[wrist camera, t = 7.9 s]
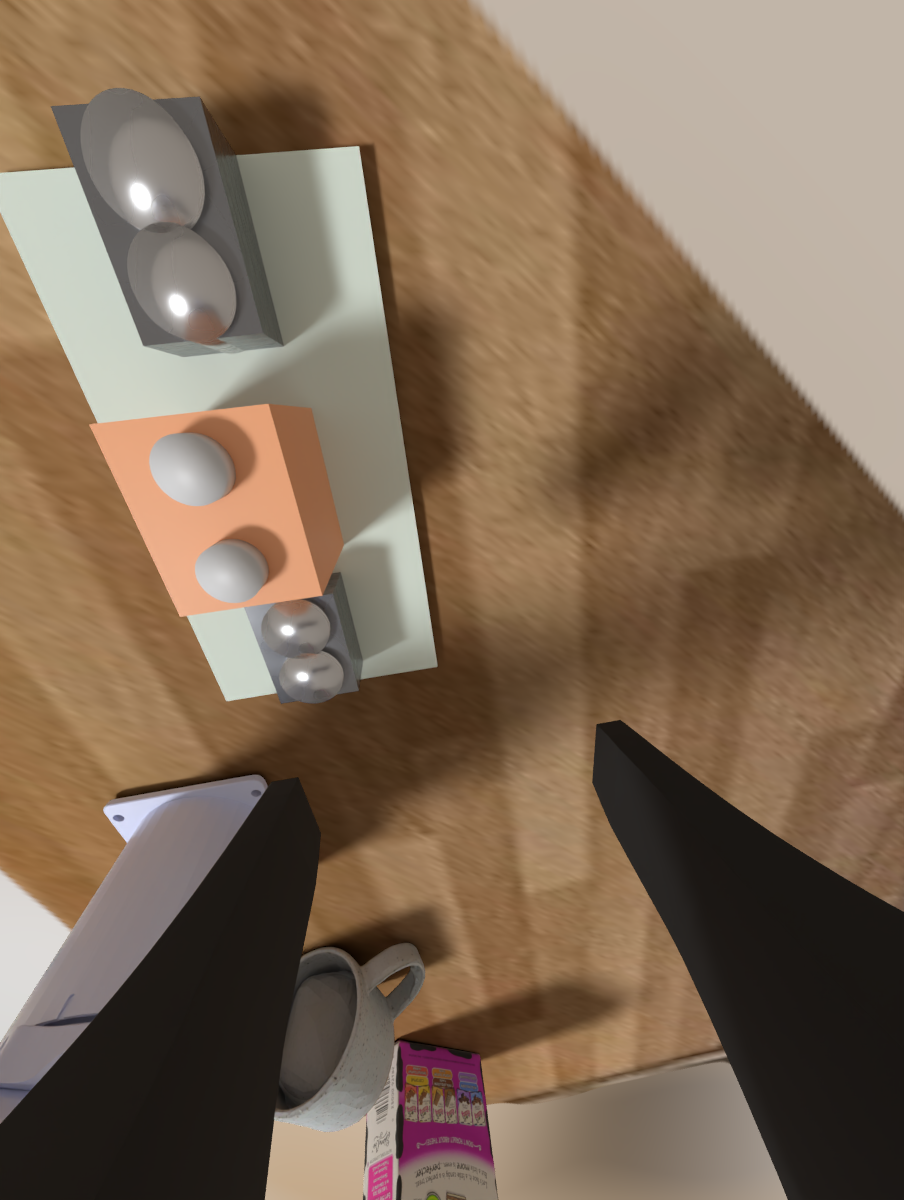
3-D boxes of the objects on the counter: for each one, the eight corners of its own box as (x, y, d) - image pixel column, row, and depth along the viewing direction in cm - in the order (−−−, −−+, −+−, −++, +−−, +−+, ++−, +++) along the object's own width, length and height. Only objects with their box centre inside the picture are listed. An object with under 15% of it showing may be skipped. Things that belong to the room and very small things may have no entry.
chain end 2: (363, 661, 18) (358, 696, 16) (294, 672, 18) (279, 709, 16) (340, 570, 16) (331, 595, 14) (262, 582, 16) (240, 609, 14)
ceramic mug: (318, 1006, 32) (298, 1166, 25) (266, 964, 29) (227, 1136, 22) (437, 964, 32) (450, 1113, 25) (401, 916, 29) (404, 1074, 22)
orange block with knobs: (344, 544, 16) (318, 604, 11) (243, 558, 16) (168, 627, 10) (311, 408, 14) (260, 403, 9) (193, 421, 13) (69, 425, 8)
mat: (436, 662, 19) (437, 666, 19) (229, 695, 19) (226, 701, 18) (360, 154, 11) (359, 146, 11) (-4, 182, 11) (-18, 174, 10)
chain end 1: (284, 348, 13) (260, 333, 11) (184, 358, 13) (137, 346, 10) (235, 153, 11) (192, 83, 9) (115, 162, 11) (38, 92, 8)
